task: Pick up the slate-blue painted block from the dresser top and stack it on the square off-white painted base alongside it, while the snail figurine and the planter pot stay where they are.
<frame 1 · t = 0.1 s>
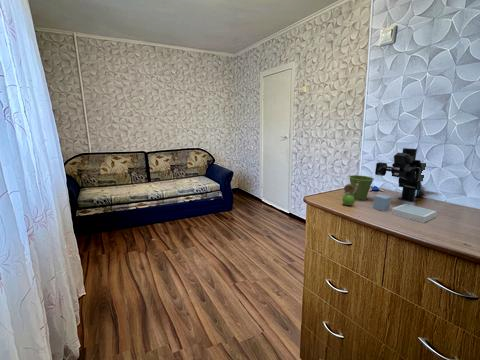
hand: (387, 173, 110), 17 cm above the table, tool horizontal, fingers open, 9 cm apart
plant pot: (358, 198, 129), on the table
base: (413, 215, 105), on the table
block: (380, 208, 113), on the table
snail figurine: (349, 205, 117), on the table
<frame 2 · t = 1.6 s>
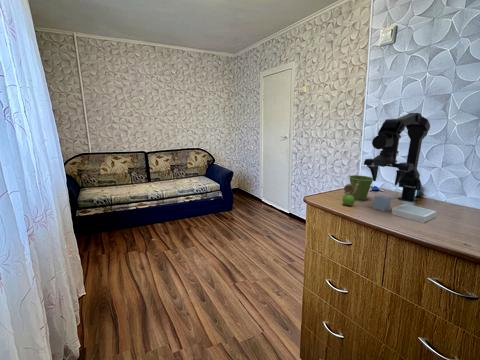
hand: (384, 183, 110), 12 cm above the table, tool pointing down, fingers open, 9 cm apart
nothing on the table moved.
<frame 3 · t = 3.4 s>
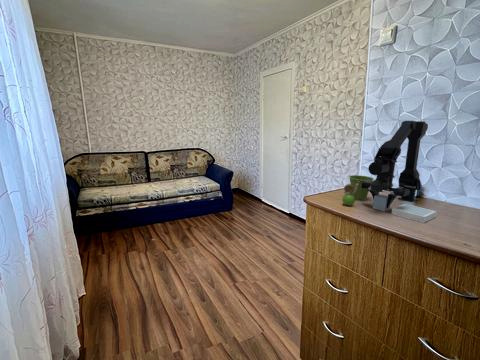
hand: (381, 206, 112), 1 cm above the table, tool pointing down, fingers closed on block, 5 cm apart
block: (380, 208, 113), on the table, touching gripper
everything else where it was.
when the fingers open (4 cm above the table, at t = 7.6 s): block stays where it is, resting on base.
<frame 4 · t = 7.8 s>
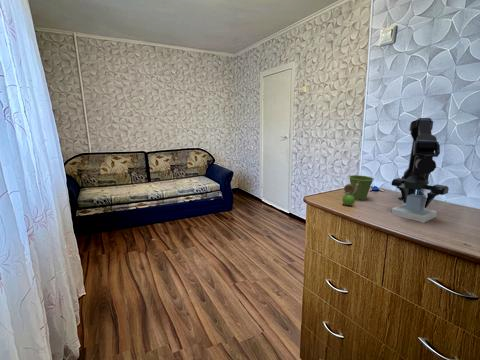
hand: (414, 205, 104), 4 cm above the table, tool pointing down, fingers open, 7 cm apart
block: (414, 209, 104), point 3 cm above the table, touching base
everything else where it was.
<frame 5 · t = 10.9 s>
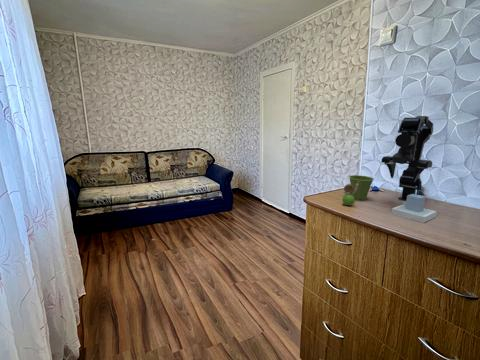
hand: (402, 180, 113), 13 cm above the table, tool pointing down, fingers open, 9 cm apart
nothing on the table moved.
at the end: block 0.0 cm from the base (horizontally); block point 2.6 cm above the table; block tilted 0° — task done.
